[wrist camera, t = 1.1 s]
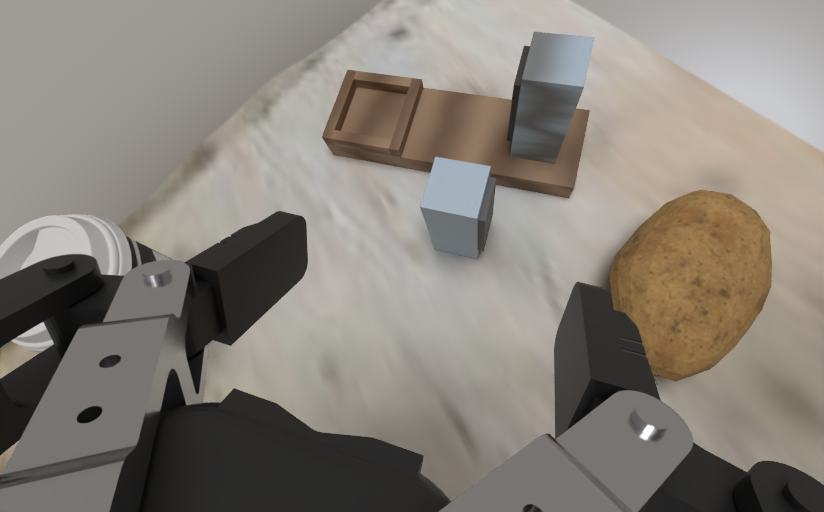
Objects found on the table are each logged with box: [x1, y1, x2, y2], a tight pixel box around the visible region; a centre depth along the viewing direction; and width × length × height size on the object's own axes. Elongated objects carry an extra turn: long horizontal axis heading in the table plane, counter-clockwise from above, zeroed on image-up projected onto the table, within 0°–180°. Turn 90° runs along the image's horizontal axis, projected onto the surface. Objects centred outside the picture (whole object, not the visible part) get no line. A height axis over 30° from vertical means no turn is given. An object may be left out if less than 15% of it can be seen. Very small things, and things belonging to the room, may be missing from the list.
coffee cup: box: [0, 214, 172, 353], centre depth 32 cm, size 10×10×15 cm
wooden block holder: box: [322, 32, 594, 198], centre depth 34 cm, size 24×8×12 cm, turn 74°
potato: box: [609, 190, 772, 381], centre depth 29 cm, size 10×14×8 cm
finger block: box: [420, 157, 496, 259], centre depth 32 cm, size 4×4×10 cm
